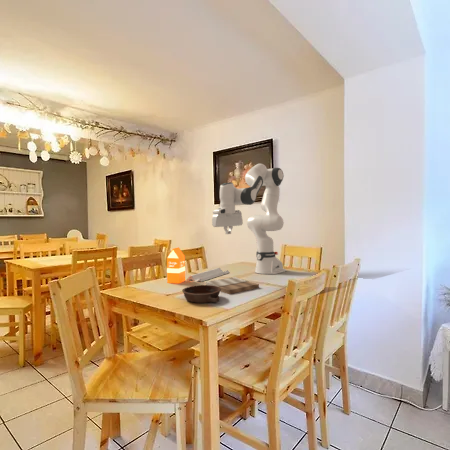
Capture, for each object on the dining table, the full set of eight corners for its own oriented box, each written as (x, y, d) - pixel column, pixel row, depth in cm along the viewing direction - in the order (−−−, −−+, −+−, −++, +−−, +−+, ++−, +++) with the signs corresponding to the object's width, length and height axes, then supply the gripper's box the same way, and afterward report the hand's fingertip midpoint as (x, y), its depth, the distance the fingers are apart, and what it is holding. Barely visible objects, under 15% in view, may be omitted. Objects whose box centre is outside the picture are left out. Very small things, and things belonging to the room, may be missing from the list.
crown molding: (201, 283, 173) (201, 276, 173) (185, 281, 180) (185, 275, 180) (229, 273, 200) (229, 268, 200) (214, 272, 206) (214, 267, 206)
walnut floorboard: (247, 284, 164) (247, 281, 164) (258, 287, 157) (258, 283, 156) (218, 290, 152) (218, 286, 152) (229, 294, 144) (229, 289, 144)
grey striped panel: (234, 280, 173) (234, 276, 173) (247, 284, 164) (247, 281, 164) (206, 285, 161) (206, 281, 161) (217, 290, 152) (218, 286, 152)
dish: (199, 292, 150) (199, 282, 150) (232, 299, 136) (232, 288, 135) (171, 299, 137) (171, 288, 137) (204, 308, 123) (204, 296, 122)
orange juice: (167, 282, 172) (166, 248, 172) (173, 279, 181) (173, 247, 180) (179, 283, 170) (178, 248, 170) (185, 280, 179) (185, 247, 178)
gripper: (237, 210, 181) (238, 232, 182) (210, 210, 169) (211, 235, 169) (244, 209, 176) (245, 233, 177) (216, 210, 164) (217, 235, 164)
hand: (228, 234), depth 173 cm, fingers closed
